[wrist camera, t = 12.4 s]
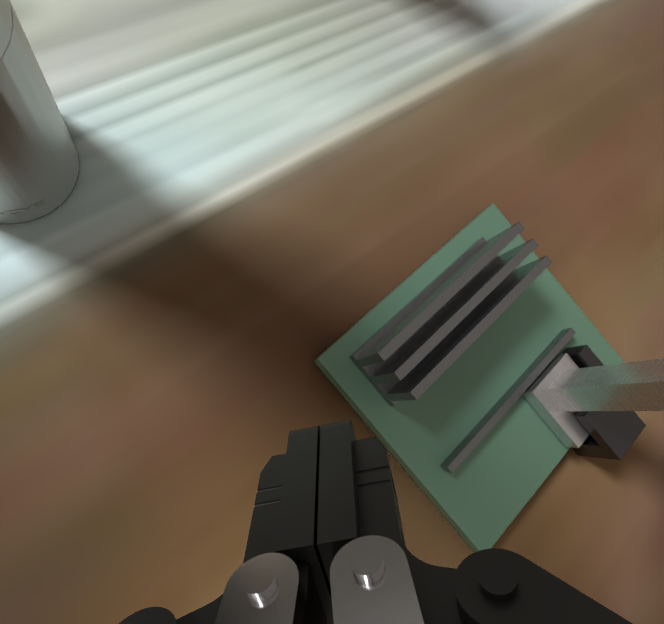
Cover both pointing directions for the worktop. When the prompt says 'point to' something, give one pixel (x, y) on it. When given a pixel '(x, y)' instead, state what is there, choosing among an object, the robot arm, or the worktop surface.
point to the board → (471, 395)
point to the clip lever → (593, 393)
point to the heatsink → (464, 328)
